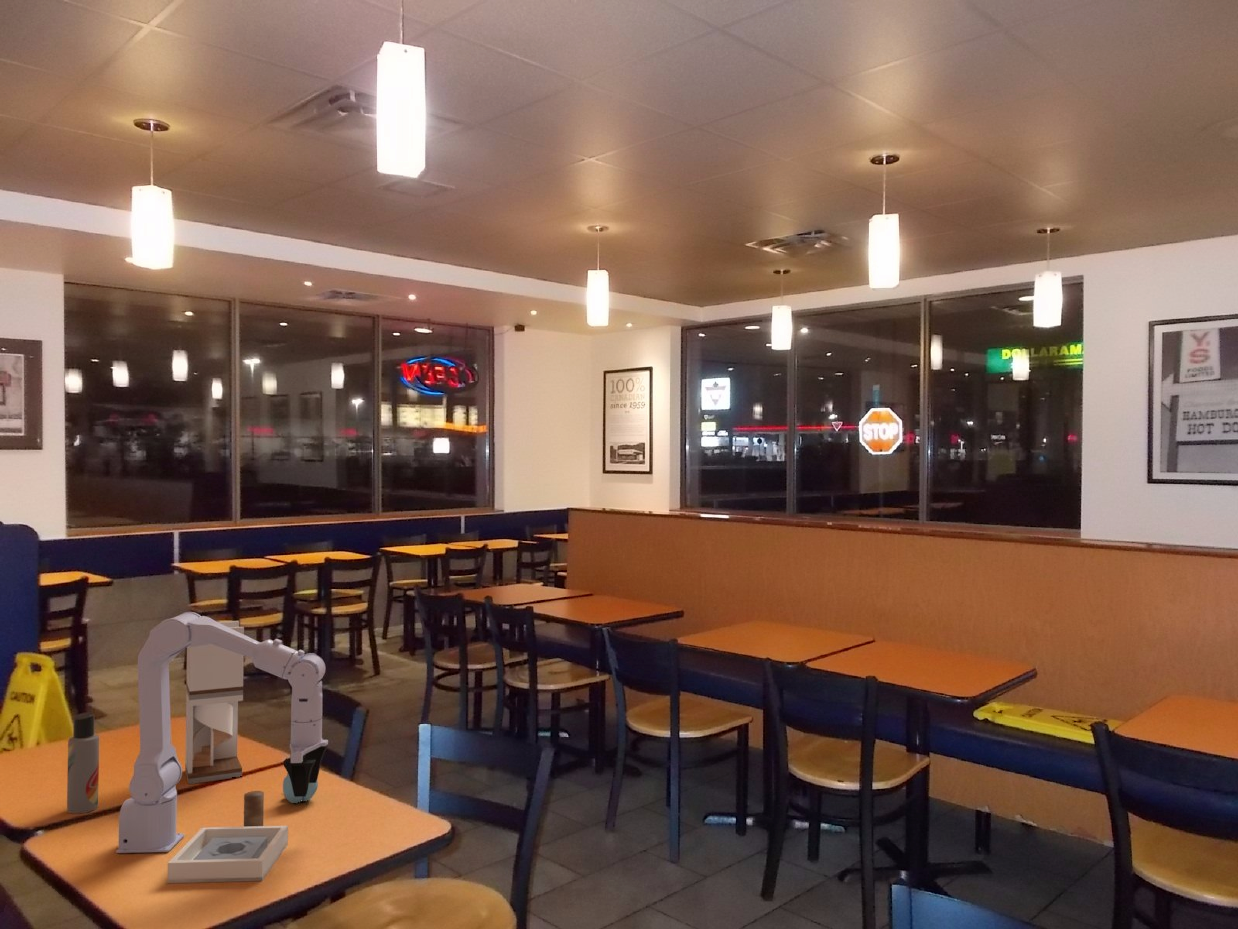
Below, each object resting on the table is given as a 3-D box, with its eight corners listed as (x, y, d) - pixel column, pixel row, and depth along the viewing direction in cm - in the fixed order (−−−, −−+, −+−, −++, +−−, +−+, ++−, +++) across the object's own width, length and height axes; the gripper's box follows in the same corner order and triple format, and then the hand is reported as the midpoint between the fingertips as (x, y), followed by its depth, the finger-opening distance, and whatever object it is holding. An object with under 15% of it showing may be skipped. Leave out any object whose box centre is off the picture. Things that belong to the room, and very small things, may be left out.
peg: (240, 838, 178) (241, 797, 178) (247, 831, 182) (247, 791, 182) (259, 838, 178) (260, 797, 178) (265, 831, 182) (266, 790, 182)
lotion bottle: (104, 805, 195) (105, 711, 195) (86, 815, 189) (87, 718, 190) (79, 804, 196) (80, 710, 196) (60, 813, 190) (62, 717, 190)
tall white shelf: (188, 784, 209) (190, 630, 209) (185, 771, 218) (187, 624, 218) (241, 776, 214) (243, 627, 215) (236, 764, 223) (238, 620, 224)
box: (167, 883, 158) (167, 863, 158) (202, 846, 174) (202, 827, 174) (262, 880, 160) (262, 860, 160) (287, 844, 176) (288, 825, 176)
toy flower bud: (303, 751, 208) (321, 760, 198) (304, 791, 207) (322, 802, 197) (271, 756, 203) (288, 766, 194) (271, 797, 203) (288, 809, 193)
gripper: (318, 729, 170) (317, 802, 170) (336, 709, 185) (335, 776, 184) (279, 729, 170) (278, 802, 169) (300, 709, 184) (299, 777, 184)
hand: (305, 789), depth 177 cm, fingers open, 7 cm apart
